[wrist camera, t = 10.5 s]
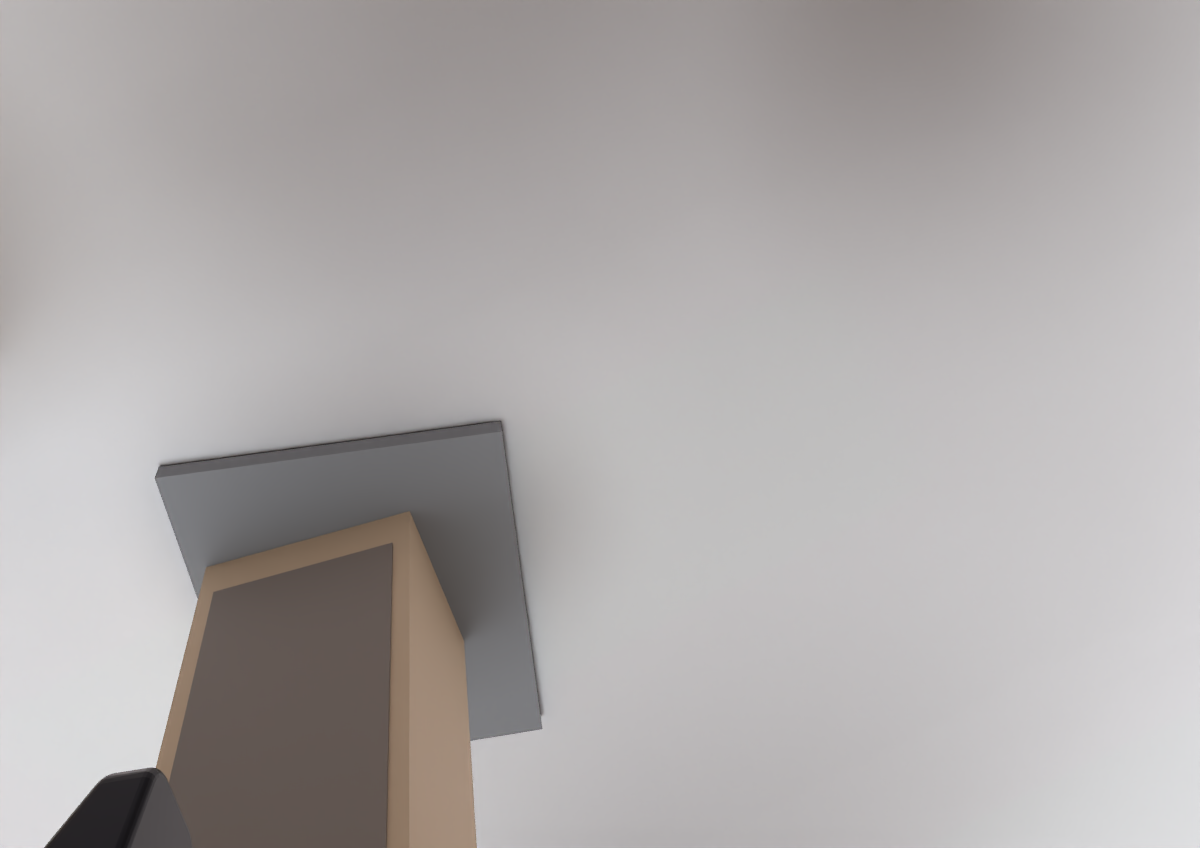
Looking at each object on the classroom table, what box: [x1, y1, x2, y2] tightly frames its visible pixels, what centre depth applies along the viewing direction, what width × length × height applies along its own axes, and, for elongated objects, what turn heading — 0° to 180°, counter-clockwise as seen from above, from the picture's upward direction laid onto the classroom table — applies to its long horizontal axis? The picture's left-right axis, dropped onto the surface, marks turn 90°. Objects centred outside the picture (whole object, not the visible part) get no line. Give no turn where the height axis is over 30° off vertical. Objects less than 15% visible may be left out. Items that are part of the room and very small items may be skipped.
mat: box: [155, 421, 542, 741], centre depth 24 cm, size 9×7×1 cm
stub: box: [156, 511, 477, 848], centre depth 19 cm, size 4×5×12 cm
